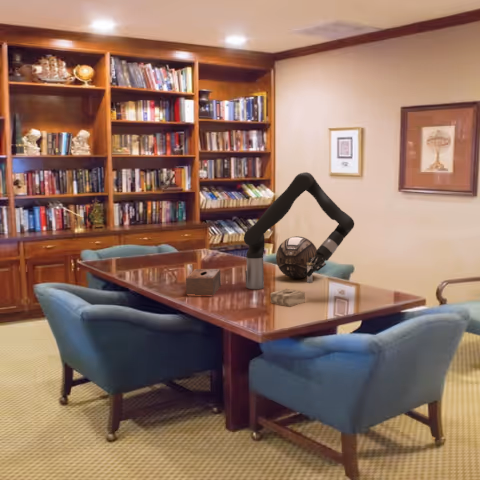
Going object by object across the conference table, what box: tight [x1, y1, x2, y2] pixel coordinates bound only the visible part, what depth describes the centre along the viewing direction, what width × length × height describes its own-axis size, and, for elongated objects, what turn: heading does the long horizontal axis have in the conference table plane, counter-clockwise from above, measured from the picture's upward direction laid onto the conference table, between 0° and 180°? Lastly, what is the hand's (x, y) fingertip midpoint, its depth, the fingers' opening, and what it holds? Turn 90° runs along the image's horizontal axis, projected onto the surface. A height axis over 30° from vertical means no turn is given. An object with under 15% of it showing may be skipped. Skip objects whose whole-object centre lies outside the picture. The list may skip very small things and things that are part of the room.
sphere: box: [275, 235, 318, 280], centre depth 357 cm, size 25×25×25 cm
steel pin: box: [306, 262, 313, 284], centre depth 304 cm, size 3×3×10 cm
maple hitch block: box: [270, 288, 306, 307], centre depth 301 cm, size 12×12×5 cm
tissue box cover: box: [185, 268, 222, 296], centre depth 331 cm, size 26×14×10 cm, turn 173°
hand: (306, 275), depth 304 cm, fingers closed on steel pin, 2 cm apart
